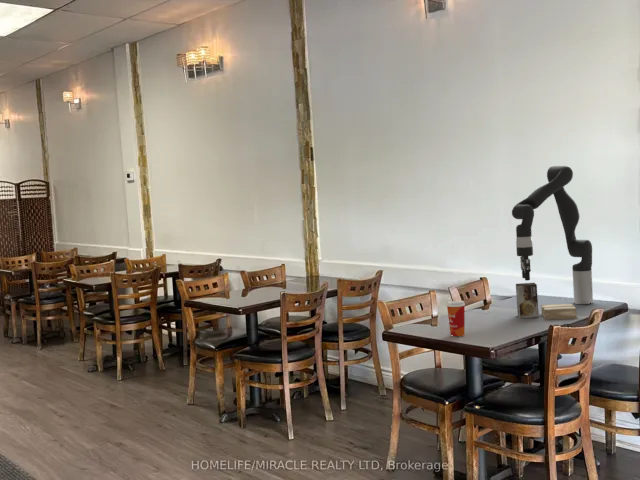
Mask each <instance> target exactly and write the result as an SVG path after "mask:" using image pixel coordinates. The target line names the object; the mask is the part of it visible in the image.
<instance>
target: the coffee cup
mask: <svg viewBox="0 0 640 480" xmlns="http://www.w3.org/2000/svg"><path fill="white" fill-rule="evenodd" d="M465 306H466V304H465V301H463V300H450V301H447V302H446V307H447V316H448V325H449V333H450V336H451V335H453V336H461V337H464V336H465V324H466V323H465V315H466V314H465V312H466V311H465V308H466V307H465ZM463 335H464V336H463ZM453 336H452V337H453Z"/></svg>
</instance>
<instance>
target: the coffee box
mask: <svg viewBox="0 0 640 480" xmlns="http://www.w3.org/2000/svg"><path fill="white" fill-rule="evenodd" d="M515 294H516V297H515V298H516V308H517V309H516V312H517V313H516V314H517V317H518V318H519V319H529V318H530V319H531V318H539V317H540V316H539V299H538V284H537V283H535V282H522V283H515Z"/></svg>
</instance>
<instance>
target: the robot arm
mask: <svg viewBox="0 0 640 480" xmlns="http://www.w3.org/2000/svg"><path fill="white" fill-rule="evenodd" d="M546 177H547V181H548V182H547V183H546V184H543V185H542V186H540V187H537V189H535V190H534V191H532V192H531V193H530V194H529V195H528V196H527V197H526V198H523V199H522V200H521V201H520V202H518V203H516V204H515V205H514V206H513V207H512V210H511V216H512V217H513V218H514V219H516V220H521V223H520V224H517V225H516V228H515V231H516V232H515V233H516V235H515V236H516V238H515V240H516V241H515V244H516V245H515V247H516V256H517V257H520V259H519V260H520V270H521V277H522V279H524V280H525V281H530V280H531V276H530V275H531V271H532V270H531V259H529V257H531V256H533V255H534V248H533V246H534V244H533V238H532V237H533V236H532V226H533V221H534V216H535V210H536V209H538V208H539V207H540V206H541V205H542V204H544V203H545V201H547V200H548V198H550V197H551V196H552V195H553V197H554V200H555V203H556V207H557V210H558V214H559V218H560V220H561V224H562V228H563V231H564V236H565V242H566V247H567V252H568V254H569V255H570V256H571V257H573V258H581V259H580V261H579V262H578V263H574V264H573V265H572V267H571V268H572V287H573V290H572V291H573V303H574V304H576V305H591V304H593V303H594V297H593V296H594V294H593V293H594V291H593V275H592V266H593V245H592V244H593V243H592V242H591V241H590V240H589V239H577V238H576V228H577V226H578V224H579V220H580V213H579V207H578V204H577V203H576V202H575V200H574V199H573V198H572V196H570V195H569V194H568V192H567V191H566V189H565V186H566V185H568V184H569V183H570V182H571V181H572V180H573V177H574V171H573V170H572V168H571V167H570V166H566V165H552V166H550V167H548V169H547V171H546ZM590 303H591V304H590Z"/></svg>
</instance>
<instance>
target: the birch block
mask: <svg viewBox="0 0 640 480" xmlns="http://www.w3.org/2000/svg"><path fill="white" fill-rule="evenodd" d="M540 308H541V309H540V311H541V316H542V317H543V318H544V319H545V320H562V319H563V320H565V319H567V320H568V319H569V320H570V319H578V317H577V316H578V315H577V308H576V307H575V306H574V305H573V304H572V303H556V304H555V303H554V304H540Z"/></svg>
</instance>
